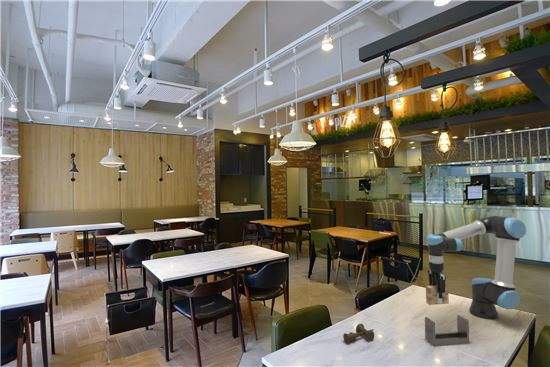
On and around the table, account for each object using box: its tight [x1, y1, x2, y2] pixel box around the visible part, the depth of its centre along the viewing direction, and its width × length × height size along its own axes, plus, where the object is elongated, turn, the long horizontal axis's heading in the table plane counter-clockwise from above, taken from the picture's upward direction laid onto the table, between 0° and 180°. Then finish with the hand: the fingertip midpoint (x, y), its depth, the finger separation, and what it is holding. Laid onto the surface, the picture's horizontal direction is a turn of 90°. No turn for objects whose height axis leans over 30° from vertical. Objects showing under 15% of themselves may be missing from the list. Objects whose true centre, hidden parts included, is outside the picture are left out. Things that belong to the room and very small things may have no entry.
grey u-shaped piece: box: [424, 314, 470, 347], centre depth 156 cm, size 20×7×12 cm, turn 96°
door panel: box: [425, 284, 450, 306], centre depth 169 cm, size 12×3×10 cm, turn 96°
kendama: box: [343, 323, 375, 345], centre depth 160 cm, size 6×10×20 cm
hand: (437, 302), depth 169 cm, fingers closed on door panel, 3 cm apart
